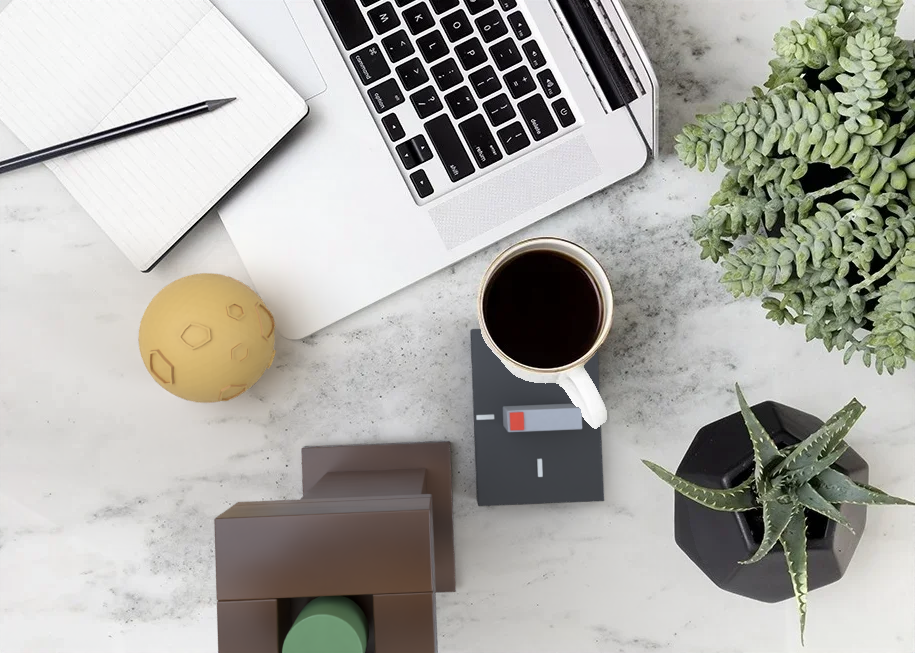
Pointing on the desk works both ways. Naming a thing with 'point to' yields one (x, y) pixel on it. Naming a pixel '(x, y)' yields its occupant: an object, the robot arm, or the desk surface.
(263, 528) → the brown blocky frame
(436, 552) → the post
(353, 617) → the green button
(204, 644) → the desk surface
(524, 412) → the block
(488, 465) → the gadget
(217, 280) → the stress ball
